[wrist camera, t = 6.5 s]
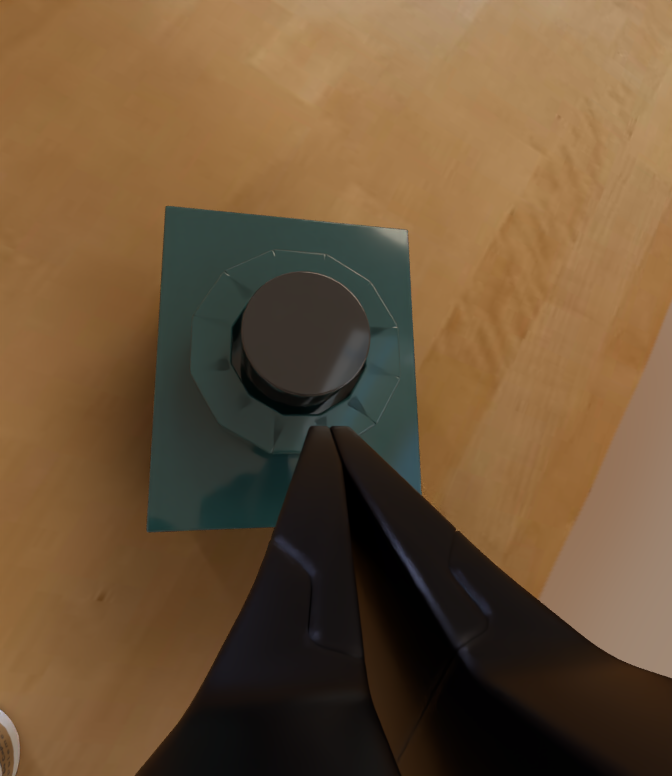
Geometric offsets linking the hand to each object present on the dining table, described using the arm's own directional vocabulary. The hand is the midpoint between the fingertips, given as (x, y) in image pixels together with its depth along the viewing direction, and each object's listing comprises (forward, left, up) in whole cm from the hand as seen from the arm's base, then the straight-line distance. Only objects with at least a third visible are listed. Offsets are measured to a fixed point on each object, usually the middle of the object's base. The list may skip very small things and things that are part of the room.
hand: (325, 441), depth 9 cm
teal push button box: (+3, -1, -13) cm, 13 cm away
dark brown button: (+3, -1, -4) cm, 5 cm away
